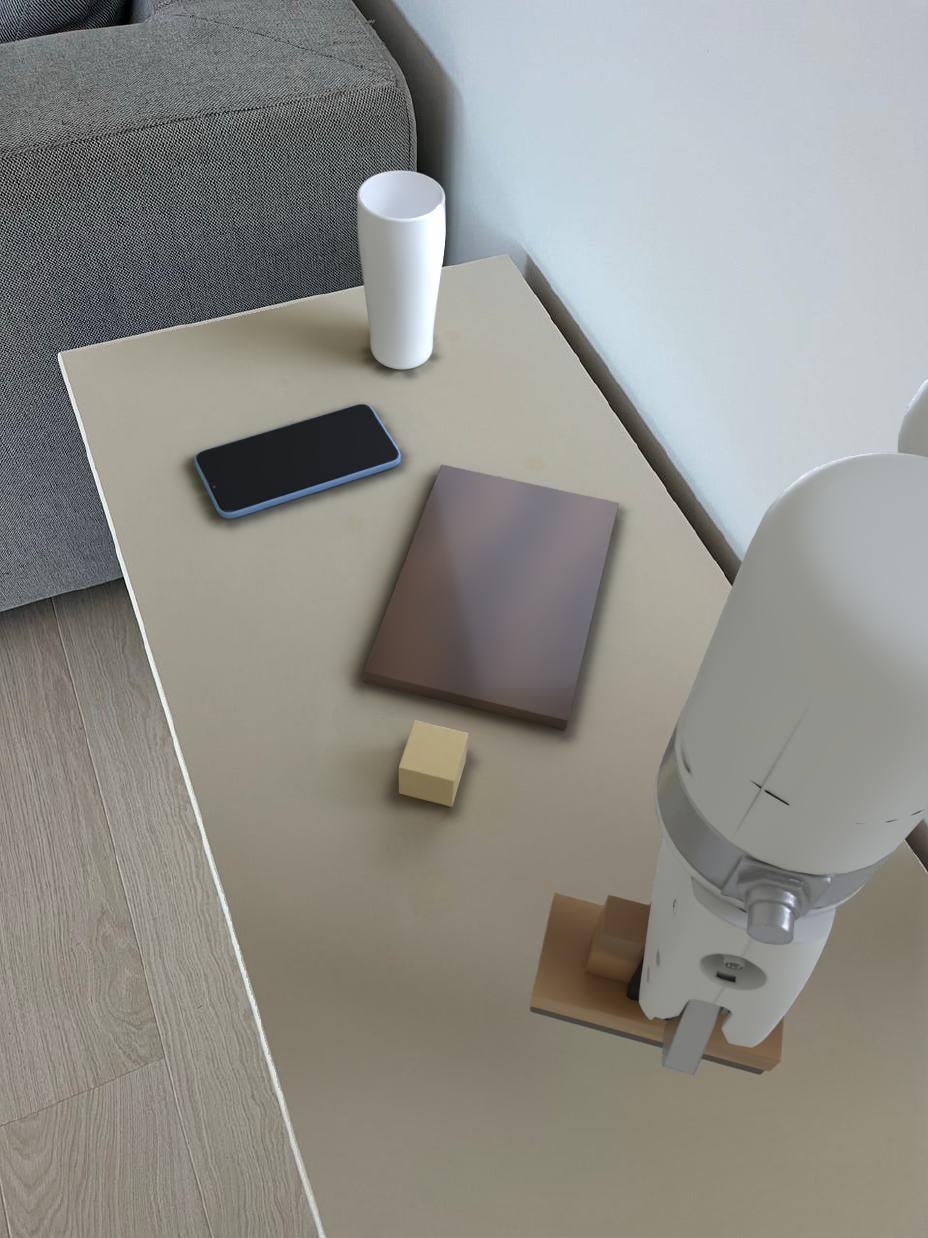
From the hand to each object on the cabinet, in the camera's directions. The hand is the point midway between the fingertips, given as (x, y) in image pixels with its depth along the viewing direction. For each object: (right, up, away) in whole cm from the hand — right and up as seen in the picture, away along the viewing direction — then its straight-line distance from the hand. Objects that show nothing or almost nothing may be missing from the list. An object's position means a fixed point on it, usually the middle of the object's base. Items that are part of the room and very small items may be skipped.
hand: (665, 972), depth 49 cm
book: (-7, +18, +29) cm, 35 cm away
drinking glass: (-15, +39, +44) cm, 60 cm away
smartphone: (-22, +28, +35) cm, 50 cm away
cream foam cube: (-11, +6, +20) cm, 23 cm away
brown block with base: (0, -2, +2) cm, 3 cm away
